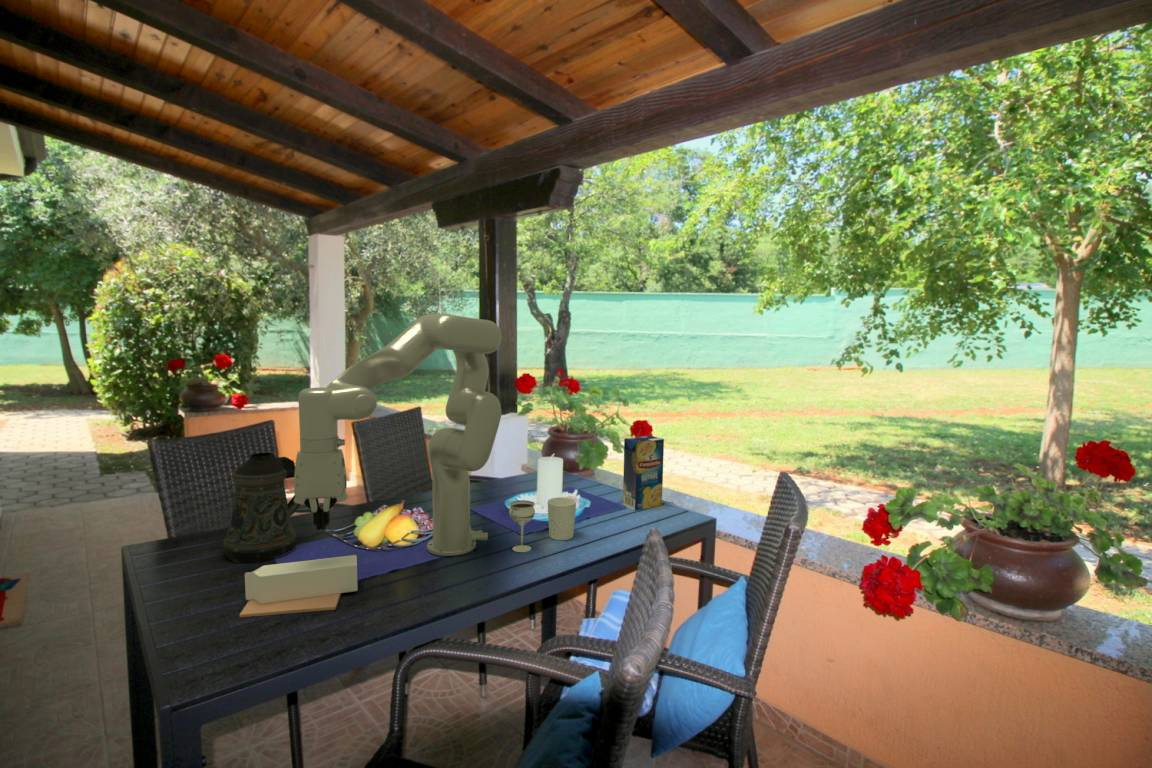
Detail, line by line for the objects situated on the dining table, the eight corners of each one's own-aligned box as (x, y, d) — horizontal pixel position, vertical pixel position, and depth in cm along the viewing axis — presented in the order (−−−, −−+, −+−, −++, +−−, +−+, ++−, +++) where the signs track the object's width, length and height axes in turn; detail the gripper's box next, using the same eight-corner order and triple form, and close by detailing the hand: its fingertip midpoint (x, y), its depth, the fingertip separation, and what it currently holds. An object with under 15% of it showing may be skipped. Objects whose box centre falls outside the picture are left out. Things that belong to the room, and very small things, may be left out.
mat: (349, 569, 144) (349, 567, 144) (335, 609, 124) (335, 606, 124) (267, 575, 140) (267, 573, 140) (239, 617, 120) (239, 614, 120)
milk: (357, 579, 137) (248, 594, 129) (356, 554, 136) (246, 566, 129) (357, 591, 131) (243, 606, 124) (356, 564, 131) (241, 578, 123)
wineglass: (506, 545, 161) (506, 501, 159) (530, 542, 163) (530, 499, 162) (512, 554, 154) (512, 509, 153) (538, 551, 157) (538, 506, 155)
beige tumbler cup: (579, 539, 166) (580, 504, 165) (552, 542, 163) (553, 506, 162) (569, 530, 173) (570, 496, 172) (543, 533, 170) (543, 498, 169)
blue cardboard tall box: (662, 505, 197) (664, 439, 195) (635, 510, 192) (637, 442, 189) (648, 499, 203) (650, 435, 201) (622, 504, 197) (624, 438, 195)
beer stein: (208, 558, 149) (203, 459, 147) (269, 532, 168) (265, 444, 165) (261, 567, 144) (257, 465, 142) (318, 539, 163) (315, 448, 160)
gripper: (358, 440, 135) (360, 520, 137) (286, 442, 132) (289, 524, 134) (353, 447, 128) (355, 531, 130) (277, 450, 124) (280, 536, 126)
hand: (321, 527), depth 132 cm, fingers closed
